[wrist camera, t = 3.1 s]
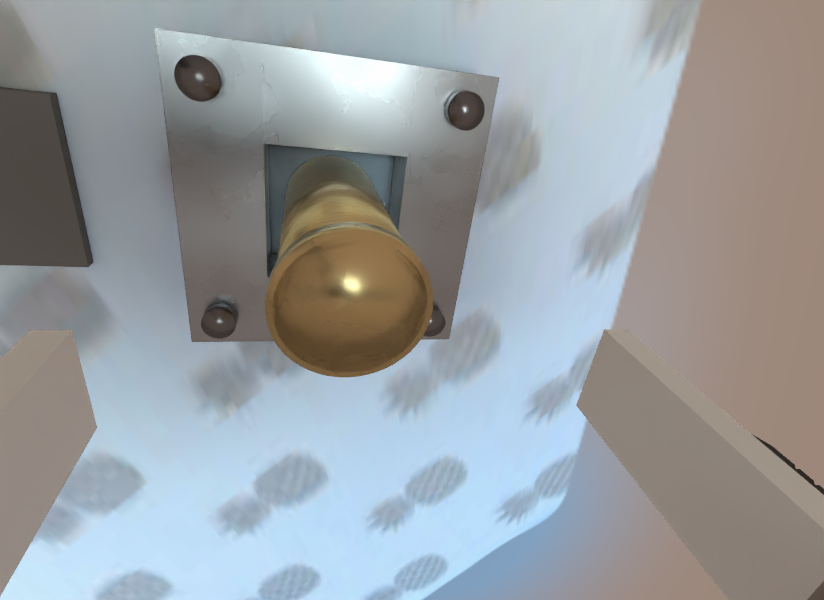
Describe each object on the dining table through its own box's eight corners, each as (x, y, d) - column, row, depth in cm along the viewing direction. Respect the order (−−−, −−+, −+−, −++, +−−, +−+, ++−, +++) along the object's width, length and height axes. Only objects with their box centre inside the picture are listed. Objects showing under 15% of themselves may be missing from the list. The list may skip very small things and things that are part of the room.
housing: (202, 312, 26) (188, 350, 22) (173, 31, 19) (147, 26, 16) (436, 313, 29) (452, 346, 26) (477, 74, 23) (506, 78, 19)
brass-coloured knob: (282, 244, 25) (267, 379, 14) (281, 146, 22) (262, 226, 12) (374, 247, 26) (421, 374, 16) (383, 156, 24) (445, 234, 13)
